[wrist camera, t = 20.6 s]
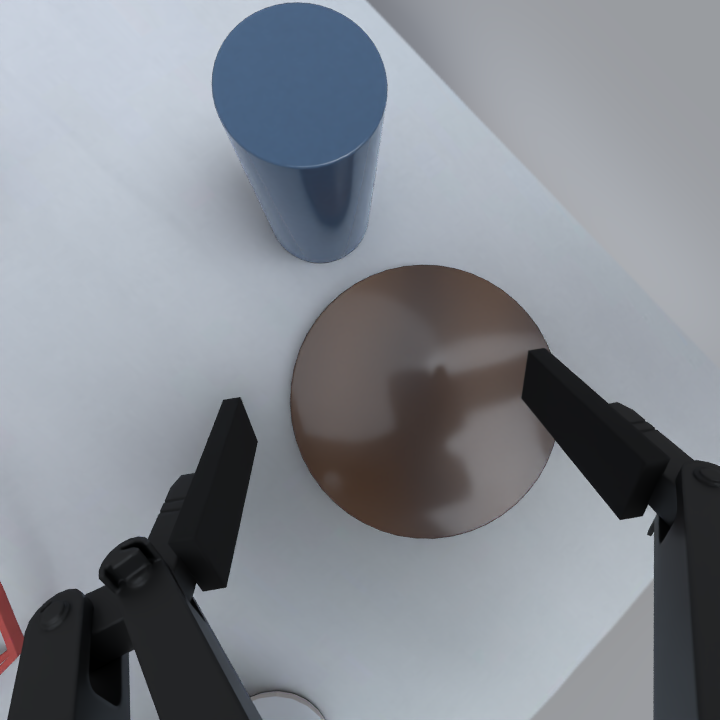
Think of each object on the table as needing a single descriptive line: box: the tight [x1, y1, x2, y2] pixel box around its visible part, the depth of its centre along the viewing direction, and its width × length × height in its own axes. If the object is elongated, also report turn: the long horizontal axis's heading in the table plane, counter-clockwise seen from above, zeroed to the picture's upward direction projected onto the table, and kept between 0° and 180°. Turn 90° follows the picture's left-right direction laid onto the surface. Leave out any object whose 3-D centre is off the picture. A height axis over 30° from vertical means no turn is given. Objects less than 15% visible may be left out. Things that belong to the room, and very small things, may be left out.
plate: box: [290, 265, 555, 539], centre depth 24 cm, size 18×18×2 cm
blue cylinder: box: [212, 2, 387, 263], centre depth 19 cm, size 7×7×11 cm
